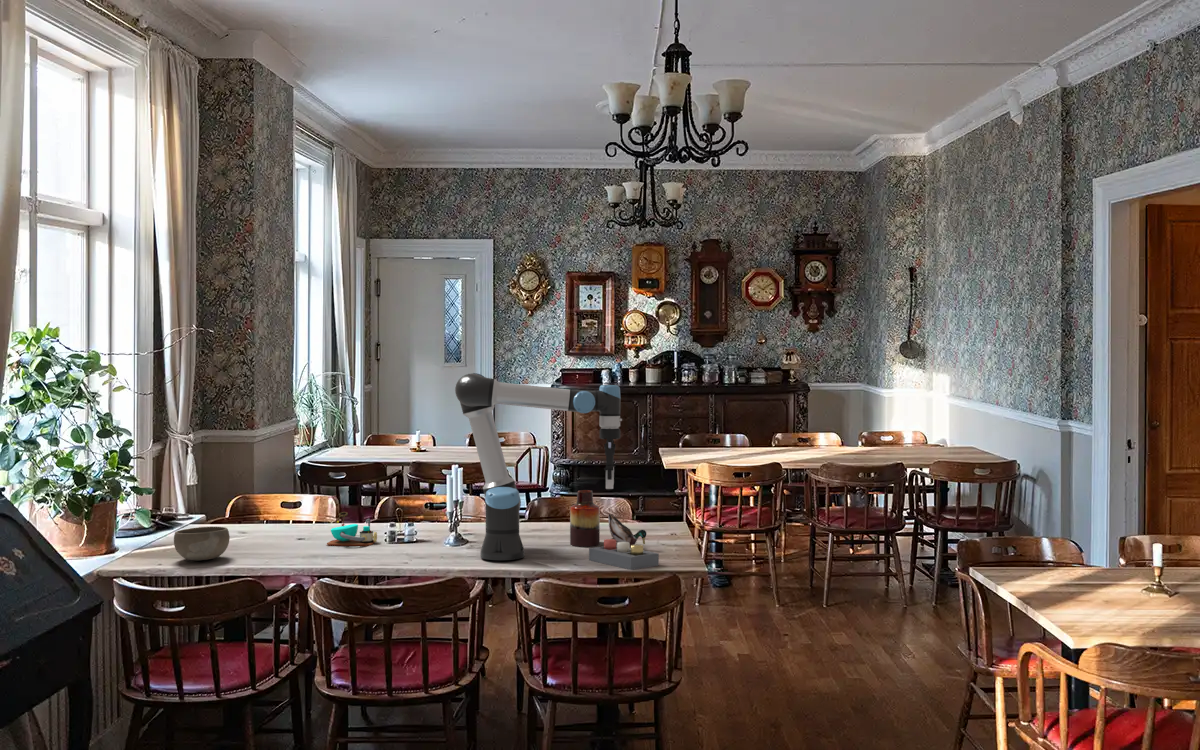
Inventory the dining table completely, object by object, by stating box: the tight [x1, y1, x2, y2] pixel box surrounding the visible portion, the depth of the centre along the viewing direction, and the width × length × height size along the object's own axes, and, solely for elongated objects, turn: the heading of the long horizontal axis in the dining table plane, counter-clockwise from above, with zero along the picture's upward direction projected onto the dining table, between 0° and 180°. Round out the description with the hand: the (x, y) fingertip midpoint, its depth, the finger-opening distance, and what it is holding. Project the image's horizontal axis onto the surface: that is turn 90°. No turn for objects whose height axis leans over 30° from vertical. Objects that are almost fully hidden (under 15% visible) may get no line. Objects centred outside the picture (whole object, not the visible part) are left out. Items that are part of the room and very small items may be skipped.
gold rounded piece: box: [631, 543, 644, 556], centre depth 337 cm, size 4×4×4 cm
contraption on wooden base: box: [325, 511, 378, 548], centre depth 377 cm, size 14×18×15 cm
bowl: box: [173, 526, 231, 561], centre depth 350 cm, size 17×18×10 cm
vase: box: [569, 489, 601, 548], centre depth 375 cm, size 11×11×20 cm
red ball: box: [603, 538, 617, 550], centre depth 348 cm, size 4×4×4 cm
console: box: [588, 544, 660, 571], centre depth 342 cm, size 12×22×4 cm, turn 39°
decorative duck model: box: [607, 513, 647, 548], centre depth 368 cm, size 15×8×15 cm, turn 60°
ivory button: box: [616, 542, 630, 553], centre depth 342 cm, size 4×4×4 cm
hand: (609, 486), depth 368 cm, fingers open, 13 cm apart
